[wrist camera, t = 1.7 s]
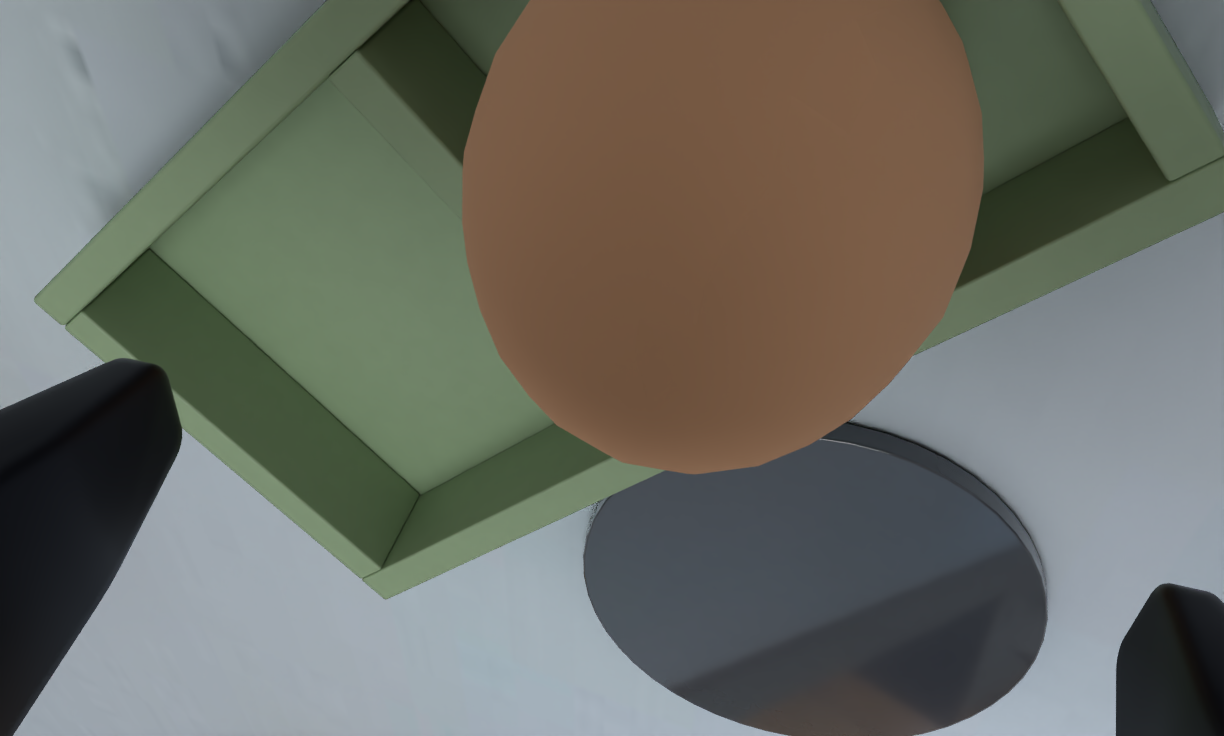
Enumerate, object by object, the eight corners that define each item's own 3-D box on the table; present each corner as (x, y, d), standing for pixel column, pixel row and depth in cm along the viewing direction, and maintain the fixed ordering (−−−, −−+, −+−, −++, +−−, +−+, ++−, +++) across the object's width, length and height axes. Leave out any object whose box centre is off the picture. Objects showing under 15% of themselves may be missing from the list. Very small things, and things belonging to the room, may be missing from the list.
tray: (1214, 111, 17) (1256, 198, 15) (428, 516, 27) (385, 601, 25) (854, -516, 13) (838, -521, 11) (110, 231, 24) (29, 301, 22)
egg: (492, 46, 19) (228, 364, 12) (763, -283, 15) (607, -98, 8) (760, 286, 20) (669, 687, 13) (1067, 51, 16) (1163, 447, 9)
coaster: (1133, 661, 25) (1137, 683, 24) (757, 756, 31) (754, 775, 30) (875, 339, 21) (874, 358, 20) (503, 519, 27) (495, 536, 26)
